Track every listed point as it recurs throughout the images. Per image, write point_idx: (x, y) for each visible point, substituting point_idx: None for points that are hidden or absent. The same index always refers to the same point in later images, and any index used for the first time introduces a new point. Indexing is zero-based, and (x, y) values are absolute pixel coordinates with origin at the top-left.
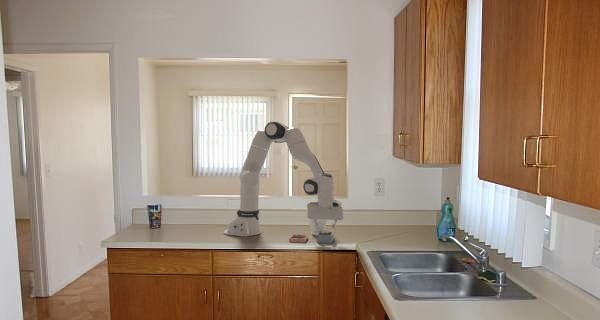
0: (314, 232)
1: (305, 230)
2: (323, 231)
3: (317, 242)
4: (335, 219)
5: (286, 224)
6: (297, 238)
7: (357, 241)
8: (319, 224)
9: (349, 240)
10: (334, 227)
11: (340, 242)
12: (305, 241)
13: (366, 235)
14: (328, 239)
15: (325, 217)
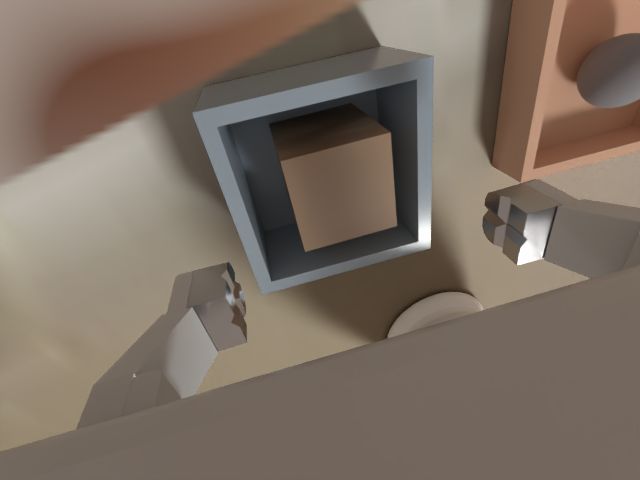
0: (463, 311)
1: None
2: (373, 228)
3: (378, 49)
4: (79, 433)
5: None
6: (630, 33)
7: (35, 318)
8: None
9: (126, 310)
10: (185, 274)
11: (161, 216)
12: (522, 18)
13: None
14: (243, 87)
15: (459, 373)
